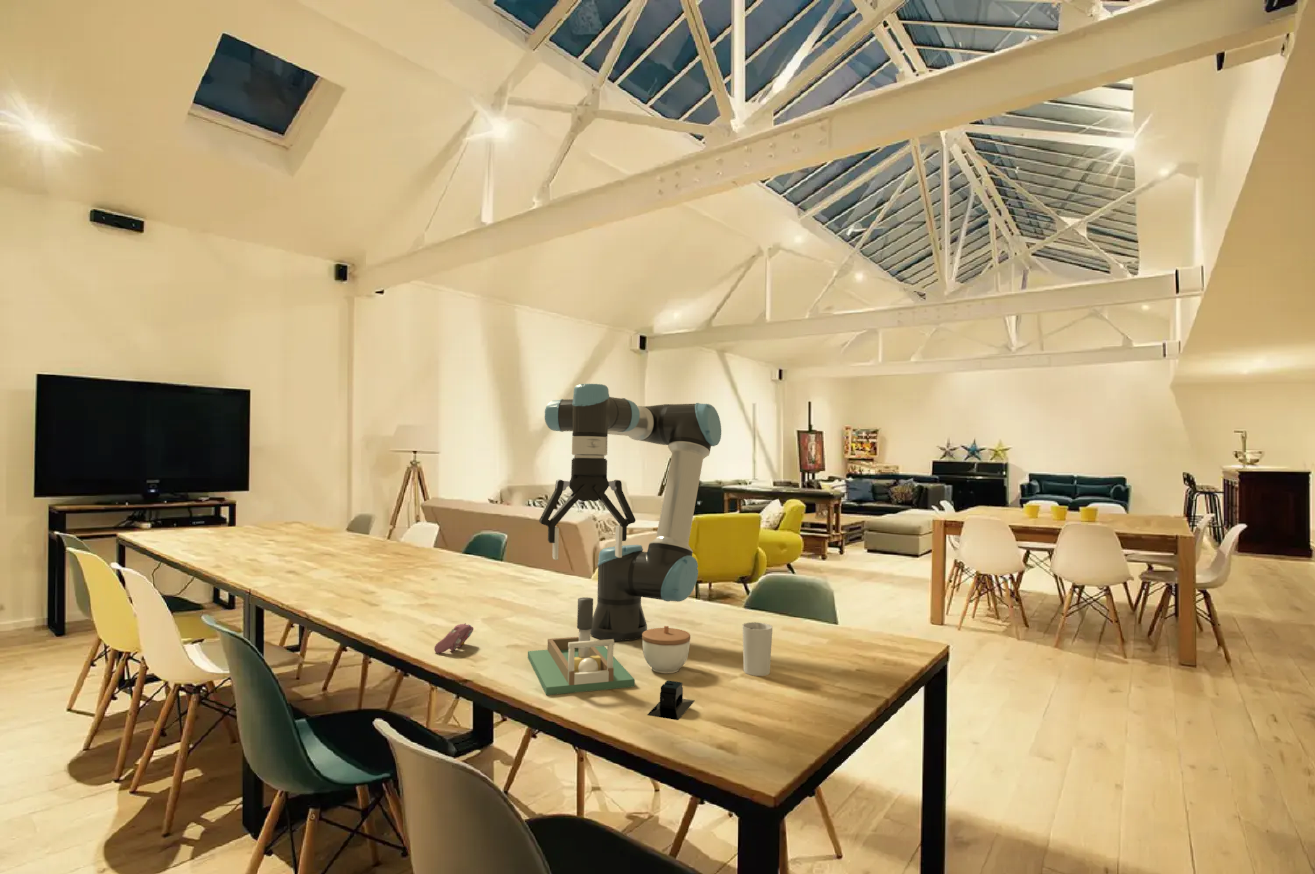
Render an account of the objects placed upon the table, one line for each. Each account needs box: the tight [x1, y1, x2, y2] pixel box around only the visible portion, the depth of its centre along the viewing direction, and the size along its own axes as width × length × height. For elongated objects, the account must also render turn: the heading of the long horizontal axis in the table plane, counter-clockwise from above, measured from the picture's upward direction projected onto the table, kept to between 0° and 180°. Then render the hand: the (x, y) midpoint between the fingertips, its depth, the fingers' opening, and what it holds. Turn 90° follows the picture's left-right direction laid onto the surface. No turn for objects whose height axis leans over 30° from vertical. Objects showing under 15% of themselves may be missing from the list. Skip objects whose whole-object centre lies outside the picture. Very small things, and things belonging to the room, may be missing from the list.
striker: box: [574, 596, 601, 673], centre depth 137 cm, size 6×3×15 cm, turn 109°
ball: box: [578, 658, 598, 672], centre depth 133 cm, size 4×4×4 cm
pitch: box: [527, 636, 636, 696], centre depth 142 cm, size 18×25×10 cm
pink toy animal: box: [433, 622, 474, 654], centre depth 157 cm, size 10×5×7 cm, turn 169°
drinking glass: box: [742, 621, 773, 677], centre depth 145 cm, size 7×7×10 cm
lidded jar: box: [641, 625, 691, 674], centre depth 145 cm, size 11×11×9 cm
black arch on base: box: [646, 680, 696, 721], centre depth 122 cm, size 13×8×5 cm, turn 160°
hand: (587, 557), depth 138 cm, fingers open, 13 cm apart
